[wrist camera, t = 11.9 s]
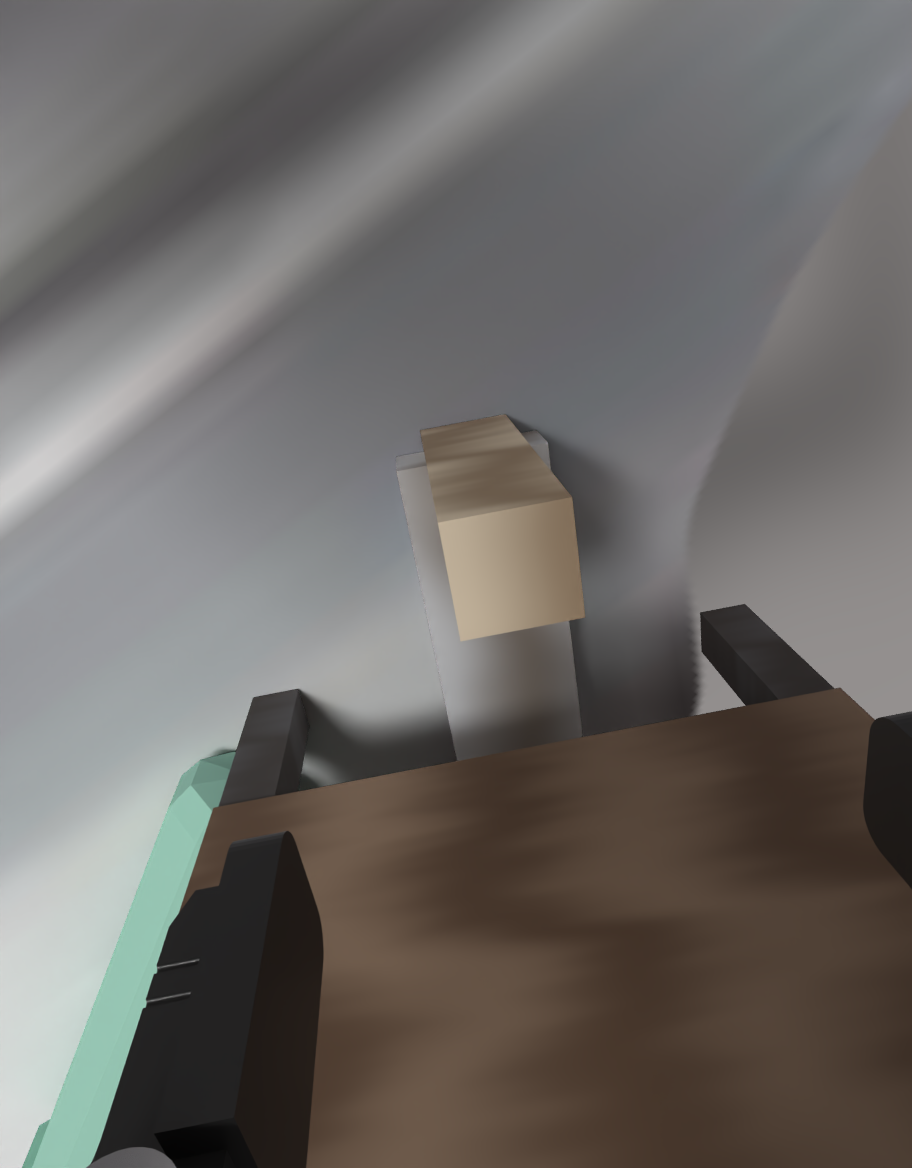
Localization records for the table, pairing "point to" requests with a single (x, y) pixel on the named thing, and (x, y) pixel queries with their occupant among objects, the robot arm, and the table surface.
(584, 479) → the table surface
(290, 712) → the walnut cabinet
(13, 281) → the table surface
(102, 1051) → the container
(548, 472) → the plank with tan block
